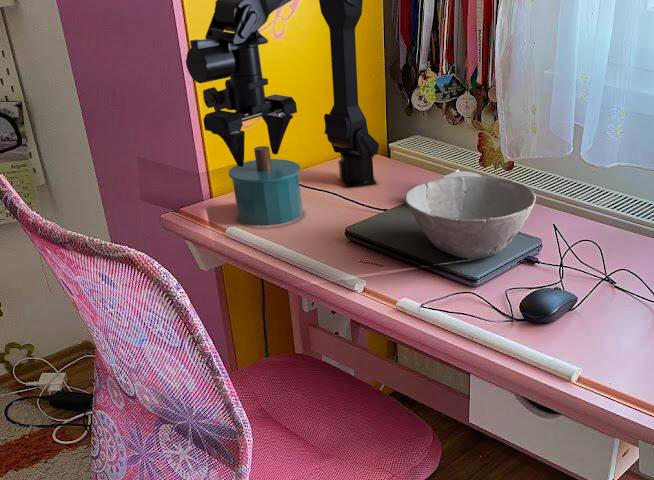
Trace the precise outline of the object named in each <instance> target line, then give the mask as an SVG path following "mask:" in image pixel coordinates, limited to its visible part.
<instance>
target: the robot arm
mask: <svg viewBox="0 0 654 480" xmlns="http://www.w3.org/2000/svg"><path fill="white" fill-rule="evenodd" d="M290 2H292V0H216V1H215V6H214V12H213V15H212V17H211V20H210V23H209V25H208V28H207V31H206V34H205V37H204V39H190V41H189V43H190V48H189V49H188V51H187V53H186V59H185V65H186V69H187V72H188V73H189V75H190V77H191V78H192V80H193V81H194V82H195V83H197V84H204V83H209V82H214V81H218V80H222V79H223V80H224V79H226V80H225V82H224V85H225V88H224V89H221V90H217V88H216V87H215V86H213V87H209V88H206V89H203V90H202V96H203V102H204V104H205V107H206V108H207V109H210V108H211V109H212V108H213V109H214V111H212V112H208V113H206V114H205V115H204V116H203V118H202V121H203V125H204V126H203V127H204V131H207V132H210V133H211V134H212V135H216V136H218V137H219V138H221V139H222V140H223V142H224V144H225V145H226V147H227V148H228V150H229V152H230V154H231V156H232V157H233V159H234V161H235V163H236V165H238V166H240V167H243V165H244V162H245V139H246V136H245V133H246V132H245V130H242V127H243V125H244V124H243V122H246V121H250V120H253V119H256V118H259V117H261V119H263V121H264V123H265V124H266V128H267V134H268V141H269V148H270V151H271V154H272V155H278V154H279V151H280V148H281V146H282V142H283V139H284V136H285V134H286V131H287V129H288V127H289V124H290V121H291V120H293V118H294V115H293V114H296V113H298V107H297V102H296V101H295V99H294V98H293V96H287V95H283V94H271V95H267V96H266V94H265V92H266V91H265V86H268V85H269V78H266V77H263V71H262V64H261V63H262V62H261V55H260V49H259V46H261V45H266V44H268V43H269V40H268V39H267V37H265V36H263V35H262V34H261V33H260V31H259V29H260V28H262V27H263V26H264V25H265V24H266V23H267V22H268V19H269V16H270V15H271V14H272V13H273V12H274V11H276V10H278V9H280V8H281V7H283V6H285V5H286V4H287V3H290ZM363 2H364V0H318V3H319V8H320V13H321V15H322V17H323V19H324V21H325V23H326V25H327V27H328V29H329V39H330V40H329V41H330V44H329V45H330V60H331V76H332V93H333V106H332V107H331V110H330V111H329V113H325V114H324V115H323V116H324V117H323V120H324V126H325V127H324V134H325V135H326V137H327V141H328V142H329V143H330V144H331V147H332V149H333V152H334V153H335V154H337V153H338V154H340V155H339V156H340V159H339V160H338V162H337V163H338V171H339V180H340V181H341V183H343V185H344V186H345V187H346V188H355V187H364V186H372V185H376V184H377V180H376V179H375V176H374V163H373V158H374V156H377V155H378V153H379V148H380V143H379V142H378V141H377V140H376V139H375V138H374V137H373V136H372V135H371V134H370V133H369V129H368V123H367V118H366V117H365V114H364V112H363V111H362V109H361V107H360V105H359V91H358V90H359V88H358V70H357V69H358V68H357V67H358V66H357V45H356V43H357V42H356V27H357V25H358V23H359V22H360V20H361V17H362V15H363V4H364V3H363Z"/></svg>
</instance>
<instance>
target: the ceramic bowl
mask: <svg viewBox="0 0 654 480" xmlns="http://www.w3.org/2000/svg"><path fill="white" fill-rule="evenodd" d="M536 201H537V195H536V193H535V192H534V190H533V189H531V188H530V187H528V186H526V185H524V184H522V183H519V182H517V181H513V180H511V179H505V178H502V177H494V176H493V177H492V176H485V175H481V176H480V177H478V176H463V177H450V178H444V179H442V178H440V179H437V180H431V181H428V182H426V183H421V184H419V185H416V186H414V187H412V188H410V189H409V190H408V191H407V192H406V196H405V203H406V205H407V207H408V208H409V210H410V212H411V213H412V215H413V217H414V220H415V222H416V223H417V225H418V226H419V228H420V229H421V231H422V232H423V233H424V234H425V235H426V237H427V238H428V240H429V242H431V243H432V244H433V245H434V246H435V247H436V248H437V249H439V250H440V251H442V252H444V253H446V254H449V255H452V256H454V257H457V258H460V259H461V258H462V259H468V260H481V259H484V258H488V257H492V256H493V255H495V254H497V253H499V252H502V250H503V249H505V248H507V246H508V245H509V244H511V243H512V242H513V238H514V237H515V236H516V235H517V234H518V233H519V231H520V230H521V228H522V227H523V225H524V224H525V222H526V221H527V219H528V217H529V216H530V214H531V212H532V210H533V208H534V205H535V203H536Z"/></svg>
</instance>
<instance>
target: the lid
mask: <svg viewBox="0 0 654 480" xmlns="http://www.w3.org/2000/svg"><path fill="white" fill-rule="evenodd" d="M253 151H254V158H255V159H254V160H249V161H244V165H243V167H240V166H238V165H237V164H236V165H233V166H232V167H231V168H229V170H228V176H229V178H230V179H231V180H232V179H234V180H236V181H240V182H246V183H268V182H276V181H281V180H285V179H288V178H291V177H293V176H295V175H297V174H298V175H299V174H300V172H301V166H300V164H299V163H297V162H295V161H292V160H287V159H281V158H280V159H279V158H271V149H270V146H265V145H261V146H260V145H259V146H256V147H254V148H253Z"/></svg>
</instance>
